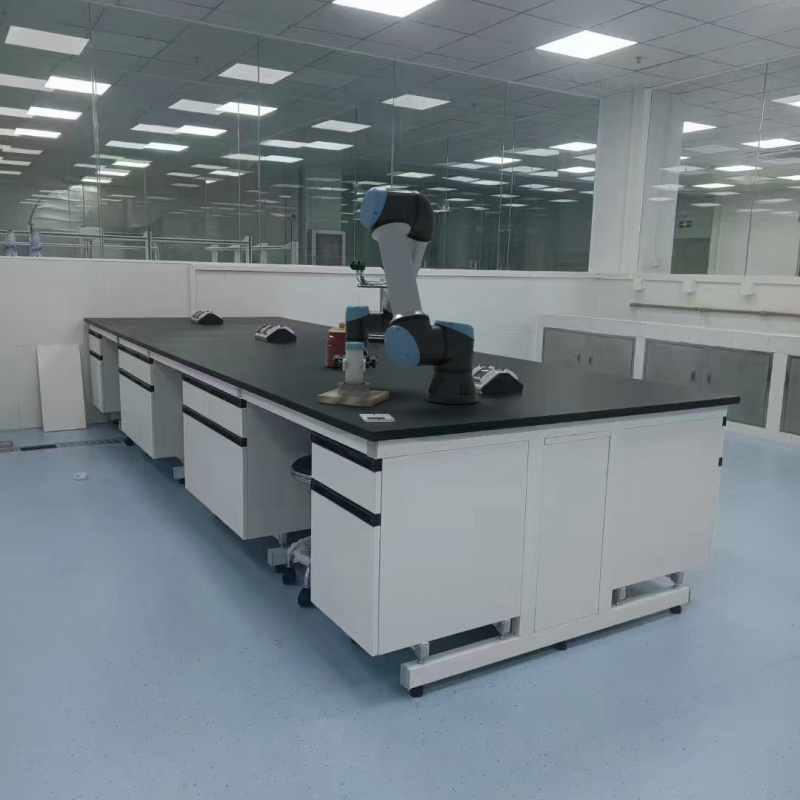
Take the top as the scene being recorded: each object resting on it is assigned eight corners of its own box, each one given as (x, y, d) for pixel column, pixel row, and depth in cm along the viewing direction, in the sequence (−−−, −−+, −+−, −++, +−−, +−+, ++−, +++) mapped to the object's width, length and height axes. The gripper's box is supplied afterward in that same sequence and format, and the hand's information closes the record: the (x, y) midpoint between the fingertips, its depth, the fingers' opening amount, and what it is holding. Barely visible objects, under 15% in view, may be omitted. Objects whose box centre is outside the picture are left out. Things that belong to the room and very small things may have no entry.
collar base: (388, 398, 211) (389, 381, 210) (370, 406, 196) (370, 388, 195) (339, 394, 216) (339, 378, 215) (317, 402, 201) (317, 384, 200)
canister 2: (365, 389, 207) (366, 342, 205) (359, 391, 202) (360, 344, 200) (348, 387, 209) (349, 341, 207) (341, 390, 204) (342, 343, 202)
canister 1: (353, 368, 277) (354, 323, 274) (321, 367, 279) (321, 322, 276) (360, 365, 290) (361, 321, 287) (329, 363, 292) (330, 320, 289)
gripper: (384, 369, 223) (385, 380, 200) (326, 368, 222) (321, 378, 199) (384, 345, 222) (386, 353, 199) (327, 344, 221) (321, 352, 198)
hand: (353, 366), depth 199 cm, fingers closed on canister 2, 5 cm apart
